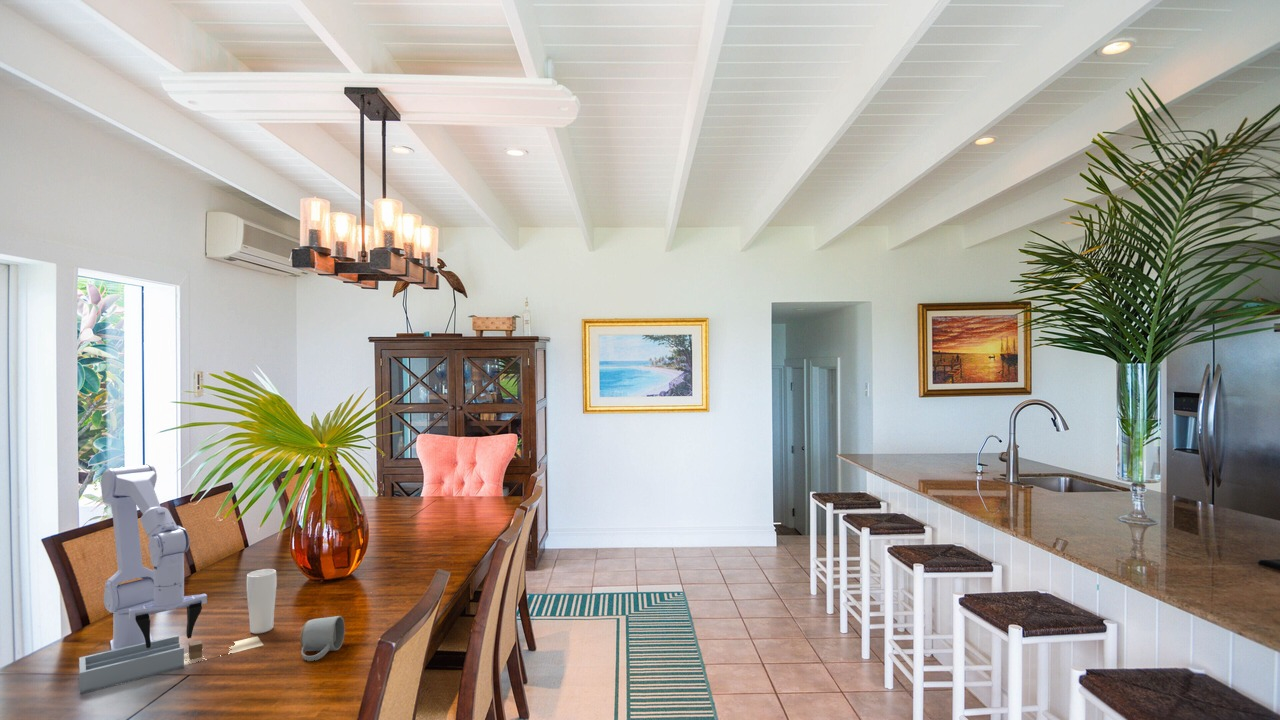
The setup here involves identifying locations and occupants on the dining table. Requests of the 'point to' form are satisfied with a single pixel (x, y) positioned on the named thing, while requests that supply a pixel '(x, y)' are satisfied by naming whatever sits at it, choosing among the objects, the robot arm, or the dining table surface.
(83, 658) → the box
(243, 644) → the cover plate
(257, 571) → the drinking glass
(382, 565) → the dining table surface
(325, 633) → the ceramic mug
